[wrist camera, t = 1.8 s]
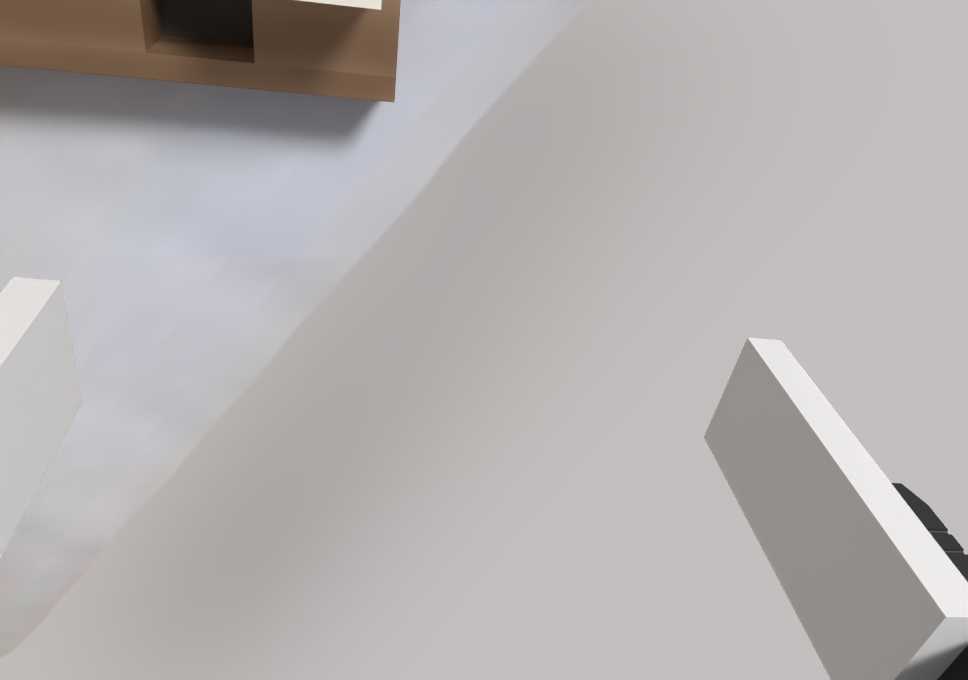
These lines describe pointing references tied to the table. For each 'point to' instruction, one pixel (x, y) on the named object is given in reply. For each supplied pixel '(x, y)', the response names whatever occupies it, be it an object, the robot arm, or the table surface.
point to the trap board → (211, 42)
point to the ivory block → (352, 3)
